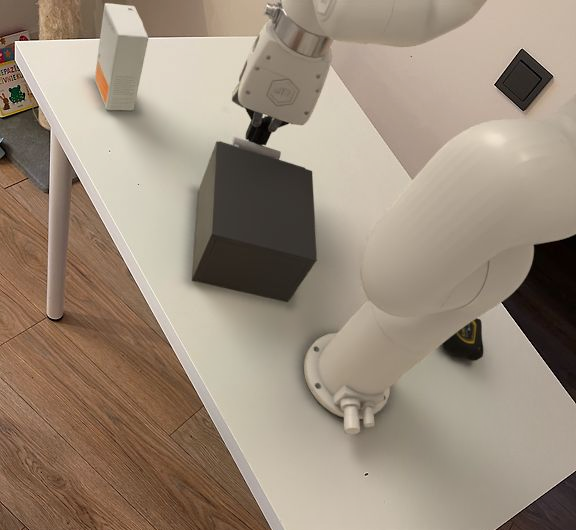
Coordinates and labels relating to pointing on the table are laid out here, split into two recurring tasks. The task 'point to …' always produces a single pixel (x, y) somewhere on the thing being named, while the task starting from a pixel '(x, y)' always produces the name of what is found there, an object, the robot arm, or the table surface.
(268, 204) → the drawer cabinet
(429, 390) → the table surface
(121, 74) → the cosmetic box
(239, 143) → the dark grey box
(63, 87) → the table surface
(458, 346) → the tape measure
